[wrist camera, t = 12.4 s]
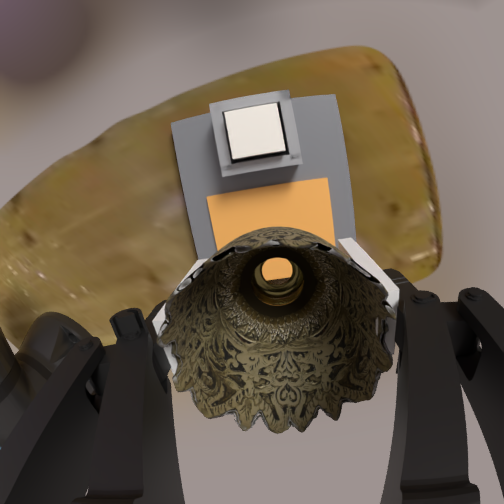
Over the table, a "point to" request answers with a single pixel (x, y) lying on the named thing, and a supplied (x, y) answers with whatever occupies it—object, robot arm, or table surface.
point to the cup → (277, 331)
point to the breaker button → (255, 131)
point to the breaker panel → (266, 176)
